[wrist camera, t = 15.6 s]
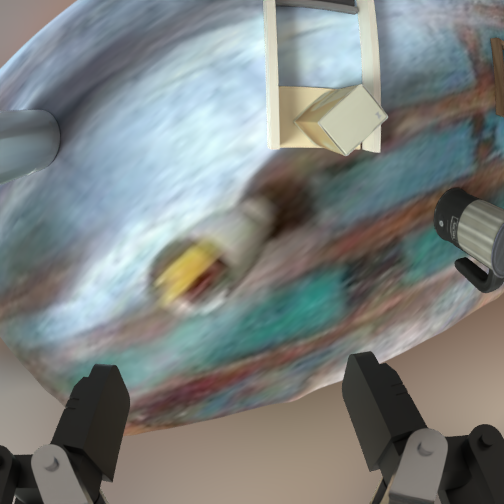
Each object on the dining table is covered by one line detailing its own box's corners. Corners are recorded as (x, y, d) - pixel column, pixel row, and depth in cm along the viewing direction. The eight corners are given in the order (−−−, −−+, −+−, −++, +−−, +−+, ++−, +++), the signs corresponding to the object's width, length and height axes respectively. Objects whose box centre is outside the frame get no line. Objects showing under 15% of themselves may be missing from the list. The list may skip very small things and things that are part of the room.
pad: (279, 147, 37) (279, 147, 37) (278, 86, 34) (278, 86, 34) (359, 149, 38) (360, 149, 38) (359, 92, 35) (360, 91, 34)
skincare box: (324, 91, 34) (363, 79, 23) (346, 115, 36) (391, 115, 25) (289, 122, 36) (315, 122, 25) (312, 147, 37) (347, 157, 26)
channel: (267, 147, 37) (271, 149, 34) (261, -34, 26) (264, -46, 23) (368, 149, 38) (380, 152, 35) (359, -22, 27) (369, -31, 24)
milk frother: (426, 201, 42) (489, 235, 28) (486, 162, 39) (548, 183, 26) (443, 270, 47) (493, 314, 33) (498, 229, 45) (549, 260, 31)
